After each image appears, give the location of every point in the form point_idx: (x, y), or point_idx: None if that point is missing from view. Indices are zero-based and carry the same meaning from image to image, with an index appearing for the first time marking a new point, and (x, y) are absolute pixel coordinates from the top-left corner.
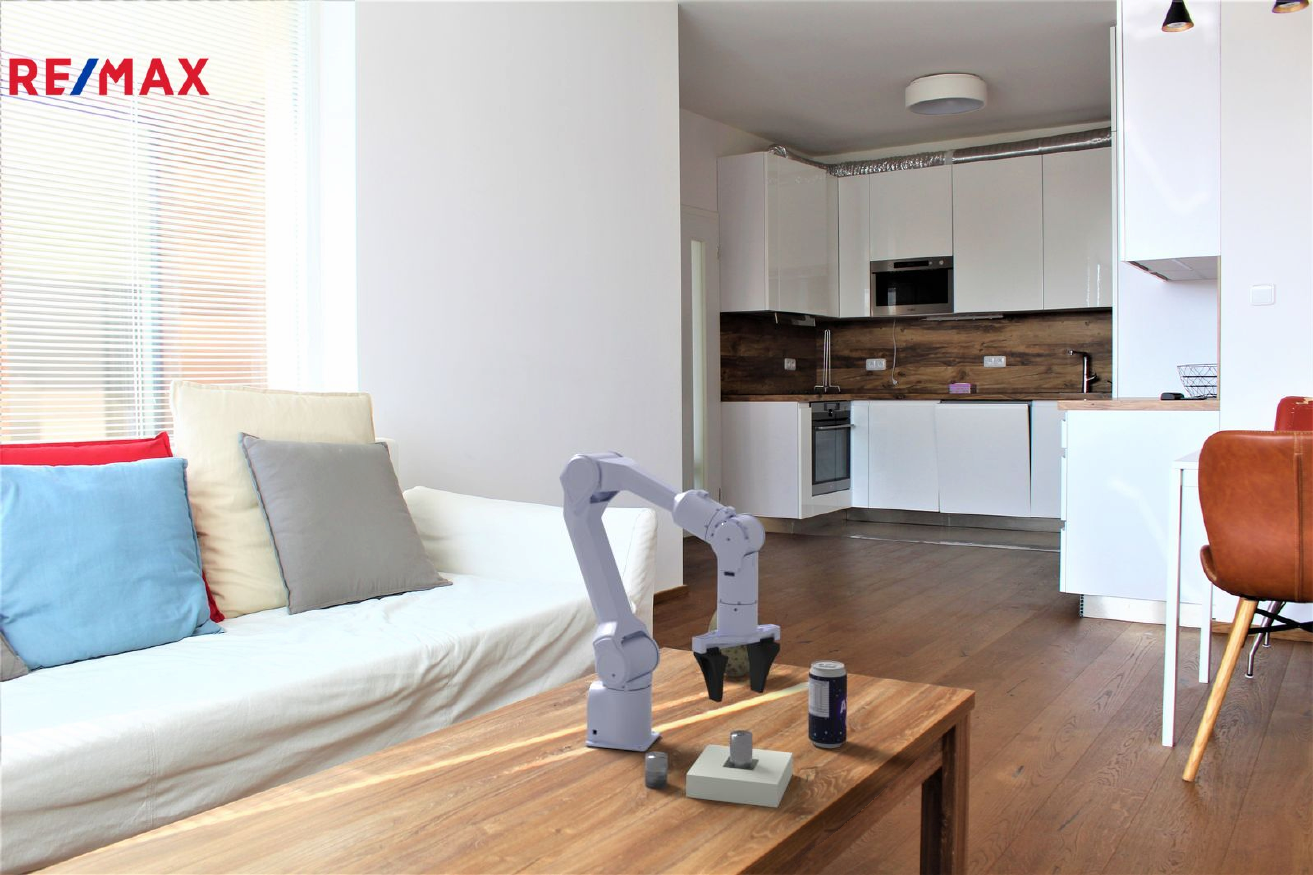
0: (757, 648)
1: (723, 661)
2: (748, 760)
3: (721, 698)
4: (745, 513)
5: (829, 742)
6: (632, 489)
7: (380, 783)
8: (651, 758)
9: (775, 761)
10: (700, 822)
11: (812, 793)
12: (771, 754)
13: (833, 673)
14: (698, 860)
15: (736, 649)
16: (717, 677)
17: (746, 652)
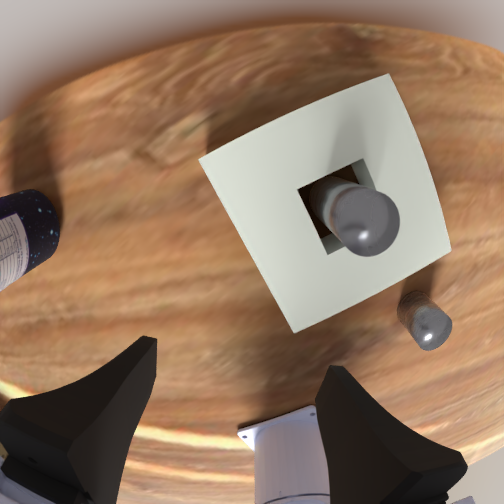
0: (100, 481)
1: (422, 459)
2: (355, 183)
3: (337, 370)
4: None
5: (47, 200)
6: None
7: (489, 436)
8: (450, 327)
9: (279, 152)
10: (480, 159)
11: (263, 68)
12: (246, 190)
13: None
14: None
15: None
16: (396, 419)
17: (7, 453)
